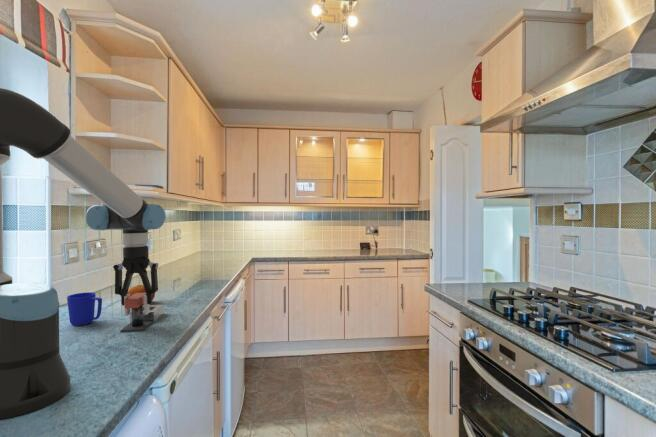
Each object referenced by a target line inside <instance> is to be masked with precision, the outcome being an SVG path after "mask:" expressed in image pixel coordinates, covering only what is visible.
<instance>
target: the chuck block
mask: <svg viewBox="0 0 656 437" xmlns="http://www.w3.org/2000/svg"><path fill="white" fill-rule="evenodd" d="M164 310H165V309H164V304H150V313H148V314H147V315H144V305H143V321H153V323H154V322H155V321H157V320H158V319H159V318H160V317H162V316H163V315H164ZM131 322H132V311H130V314H129V324H130V323H131Z"/></svg>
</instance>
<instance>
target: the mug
mask: <svg viewBox="0 0 656 437" xmlns="http://www.w3.org/2000/svg"><path fill="white" fill-rule="evenodd" d="M66 301H67V307H68V316H69V317H68V318H69V319H68V320H69V322H70V325H71V326H84V325H88V324H90V323H92V322H93V321H94V320H95V321H96V320H98V319H99V318H100V317H101V314H102V307H103V298H101V297H96V293H95V292H79V293H74V294H73V293H72V294H70V295H67V297H66ZM96 301H97V311H96V310H95V307H96ZM95 311H96V312H97V313H96V316H95Z"/></svg>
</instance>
